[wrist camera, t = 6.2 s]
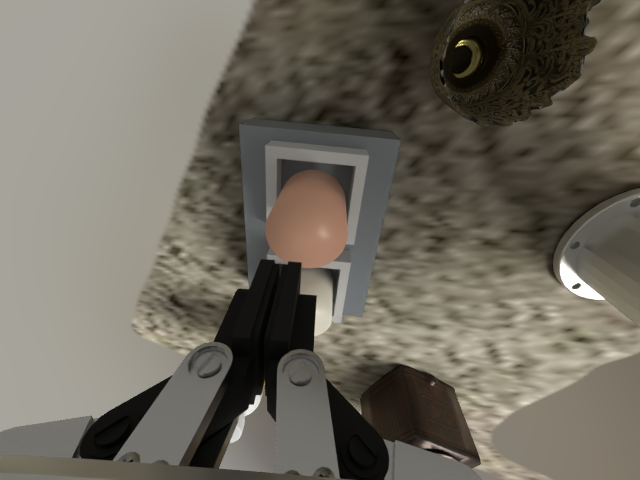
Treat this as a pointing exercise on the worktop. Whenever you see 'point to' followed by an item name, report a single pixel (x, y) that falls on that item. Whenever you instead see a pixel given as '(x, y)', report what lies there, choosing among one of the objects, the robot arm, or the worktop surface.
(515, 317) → the worktop surface
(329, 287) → the knob cream
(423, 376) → the dark brown coffee grinder
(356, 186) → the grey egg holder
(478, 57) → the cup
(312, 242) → the brown egg
